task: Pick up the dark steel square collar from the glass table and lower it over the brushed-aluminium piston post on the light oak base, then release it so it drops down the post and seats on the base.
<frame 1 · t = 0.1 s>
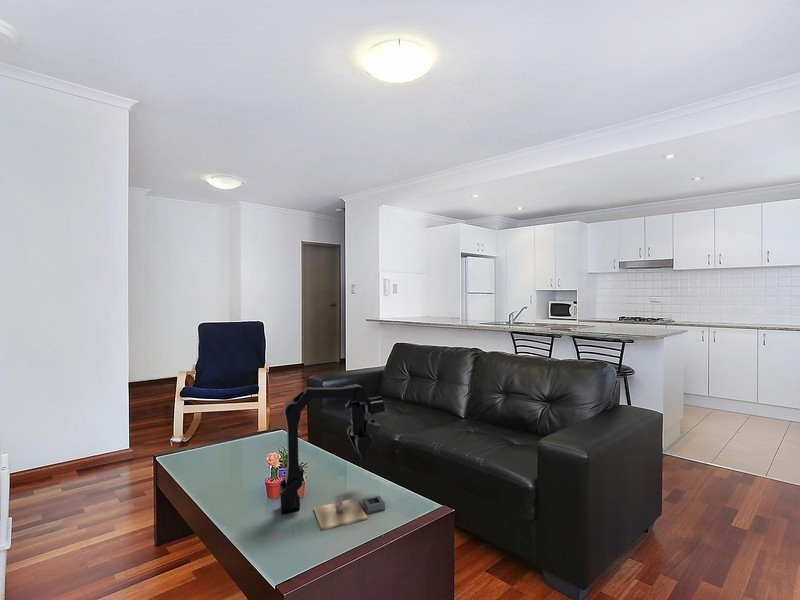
hand: (361, 456, 176), 14 cm above the table, tool pointing down, fingers open, 9 cm apart
piston stand: (339, 514, 160), on the table
collar: (374, 507, 164), on the table
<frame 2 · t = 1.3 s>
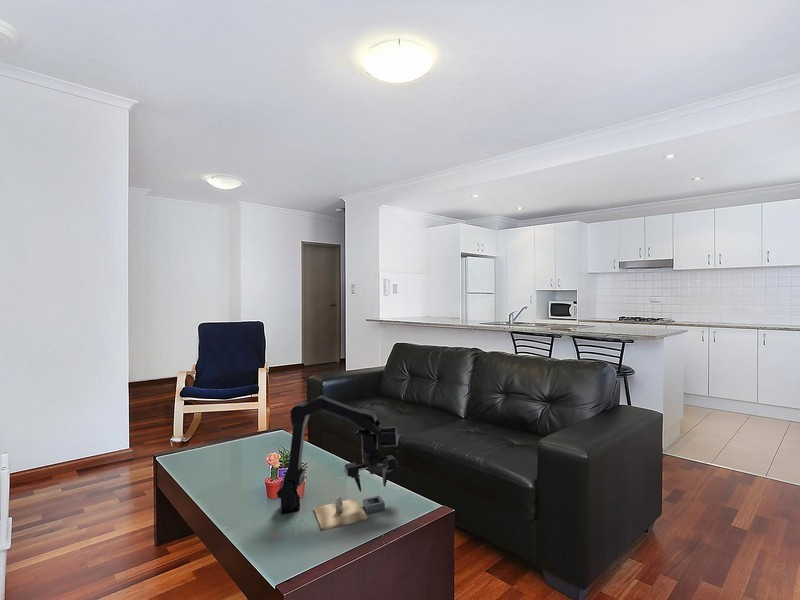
hand: (372, 488, 164), 7 cm above the table, tool pointing down, fingers open, 9 cm apart
nothing on the table moved.
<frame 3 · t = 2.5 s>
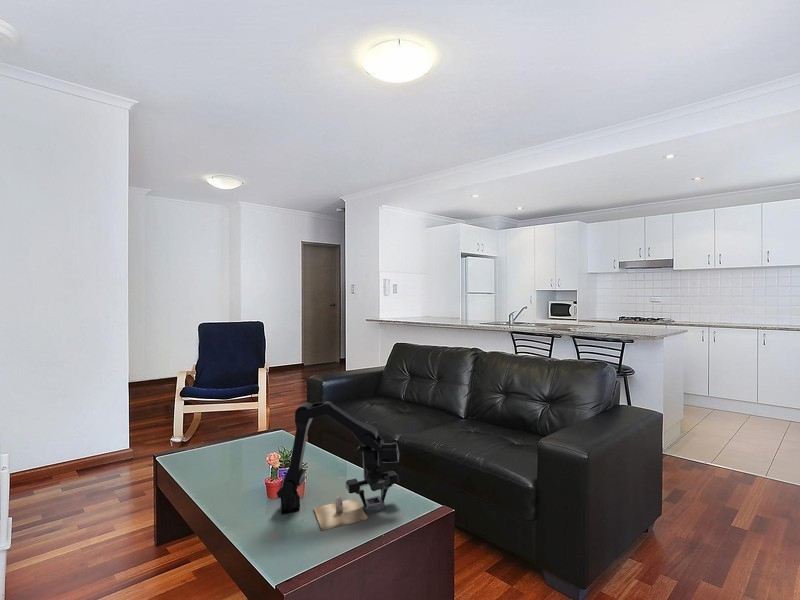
hand: (373, 504, 164), 1 cm above the table, tool pointing down, fingers closed on collar, 6 cm apart
collar: (374, 507, 164), on the table, touching gripper
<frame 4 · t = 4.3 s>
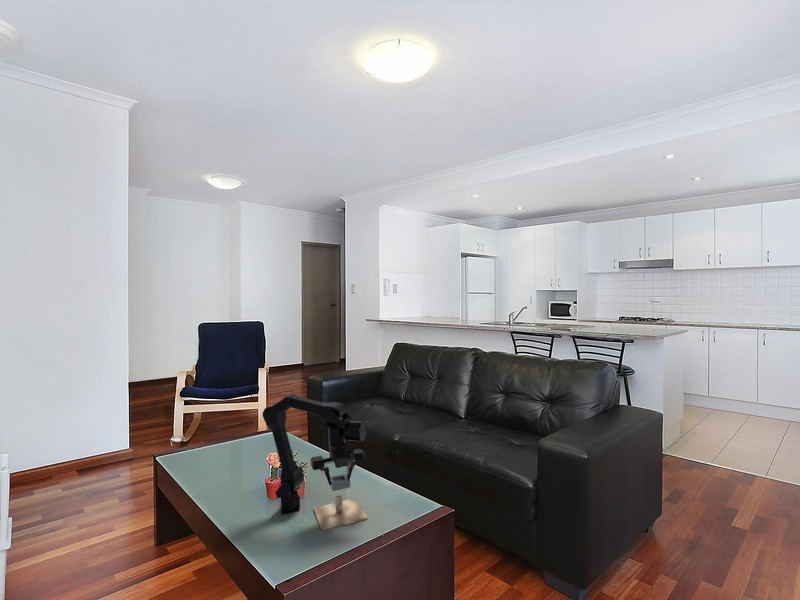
hand: (339, 482, 160), 11 cm above the table, tool pointing down, fingers closed on collar, 6 cm apart
collar: (339, 485, 160), point 10 cm above the table, touching gripper
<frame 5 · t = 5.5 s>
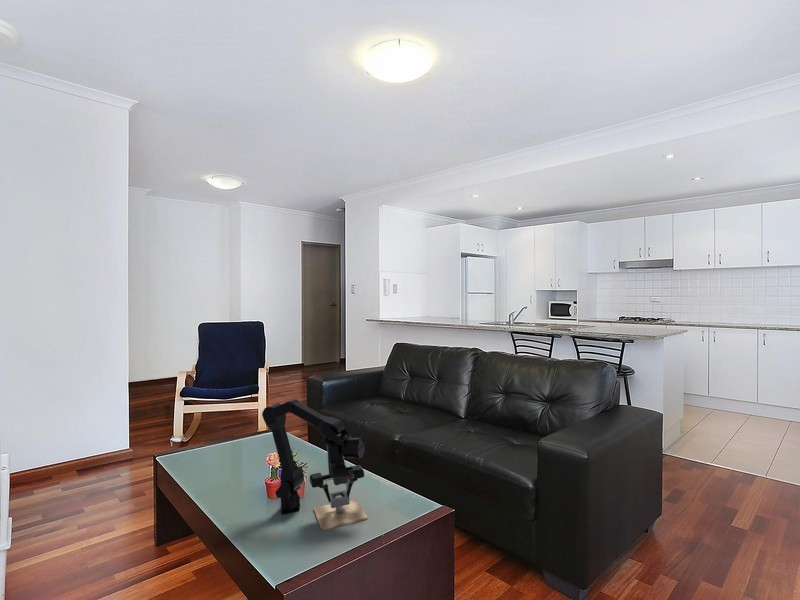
hand: (338, 499, 160), 5 cm above the table, tool pointing down, fingers closed on collar, 6 cm apart
collar: (338, 502, 160), point 4 cm above the table, touching gripper
when the fingers open (5 cm above the table, at t = 6.5 s): collar drops 3 cm, resting on piston stand.
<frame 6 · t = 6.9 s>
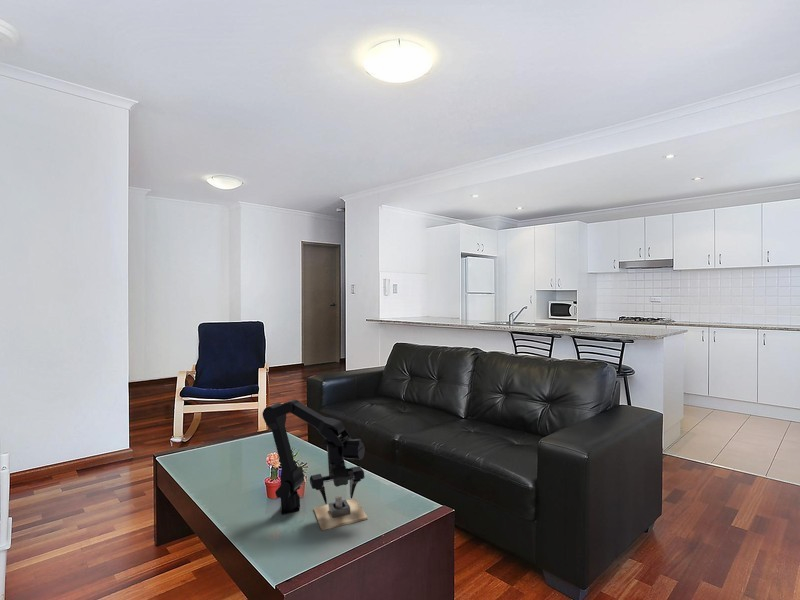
hand: (338, 500, 160), 5 cm above the table, tool pointing down, fingers open, 9 cm apart
collar: (339, 512, 160), point 1 cm above the table, touching piston stand
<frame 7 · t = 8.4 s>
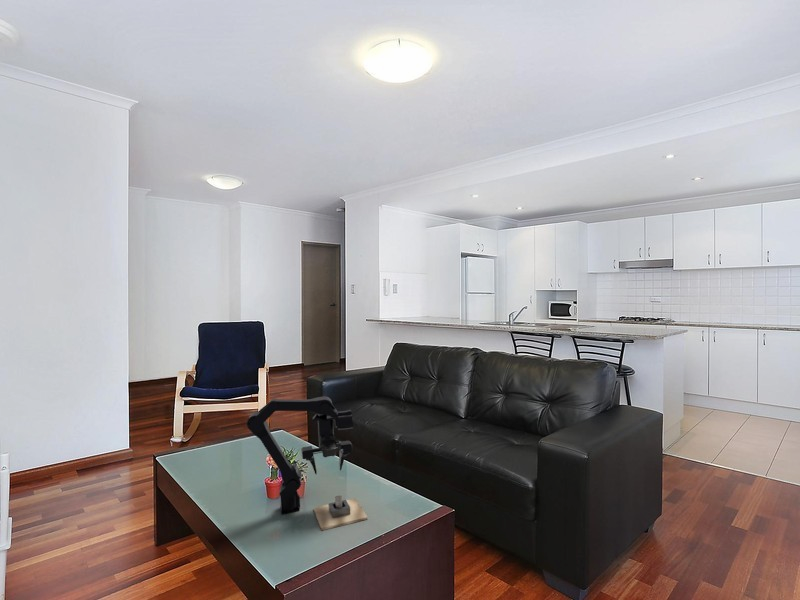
hand: (328, 472, 169), 12 cm above the table, tool pointing down, fingers open, 9 cm apart
nothing on the table moved.
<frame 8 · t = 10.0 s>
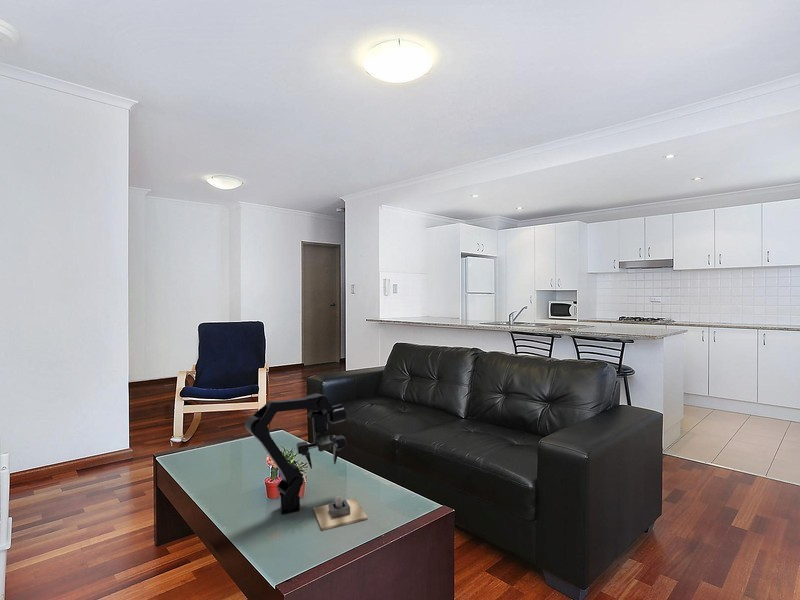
hand: (323, 466, 175), 12 cm above the table, tool pointing down, fingers open, 9 cm apart
nothing on the table moved.
at the end: collar 0.0 cm off-centre on the piston stand, point 0.8 cm above the piston stand's base; the gripper is holding nothing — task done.
